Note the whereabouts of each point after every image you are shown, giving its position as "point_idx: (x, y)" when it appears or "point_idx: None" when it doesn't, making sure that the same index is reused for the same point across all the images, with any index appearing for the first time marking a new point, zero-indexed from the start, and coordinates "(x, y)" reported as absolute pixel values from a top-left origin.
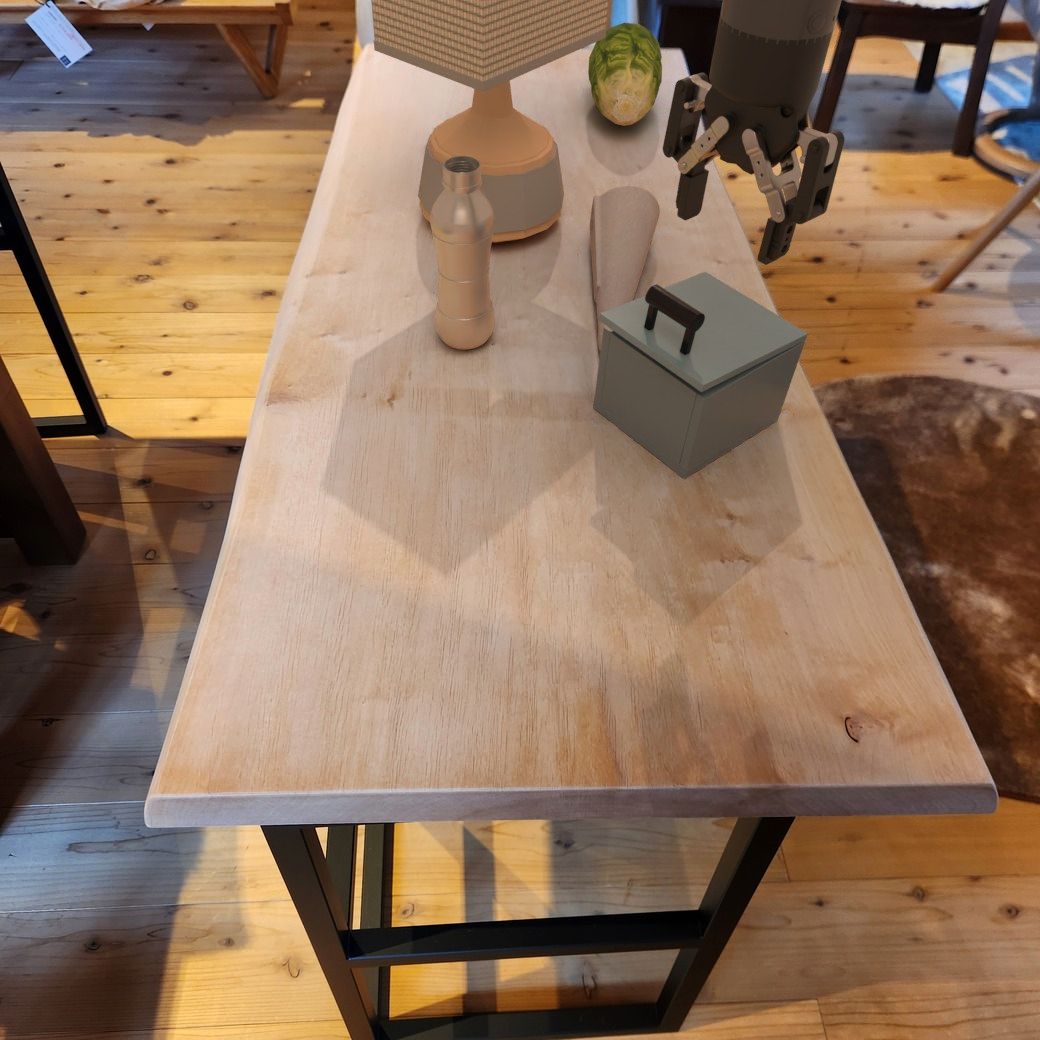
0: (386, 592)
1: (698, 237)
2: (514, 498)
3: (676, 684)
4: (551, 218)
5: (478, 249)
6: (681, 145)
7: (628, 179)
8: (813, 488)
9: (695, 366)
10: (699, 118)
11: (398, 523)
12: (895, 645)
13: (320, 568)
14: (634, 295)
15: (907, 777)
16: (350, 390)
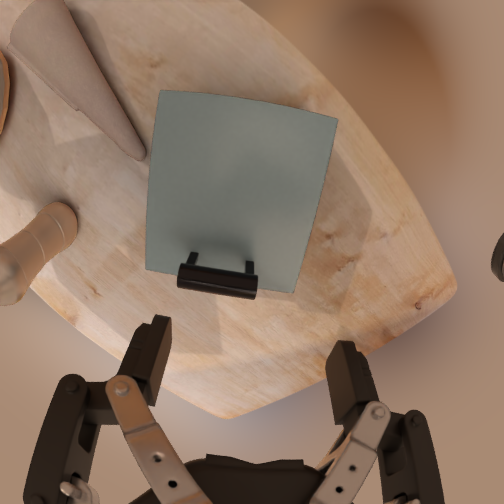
0: (211, 369)
1: None
2: (206, 307)
3: (346, 335)
4: (4, 77)
5: (29, 274)
6: (96, 421)
7: None
8: (368, 172)
9: (271, 276)
10: (70, 443)
11: (180, 347)
12: (432, 257)
13: (181, 373)
14: (104, 80)
15: (437, 307)
16: (79, 298)
